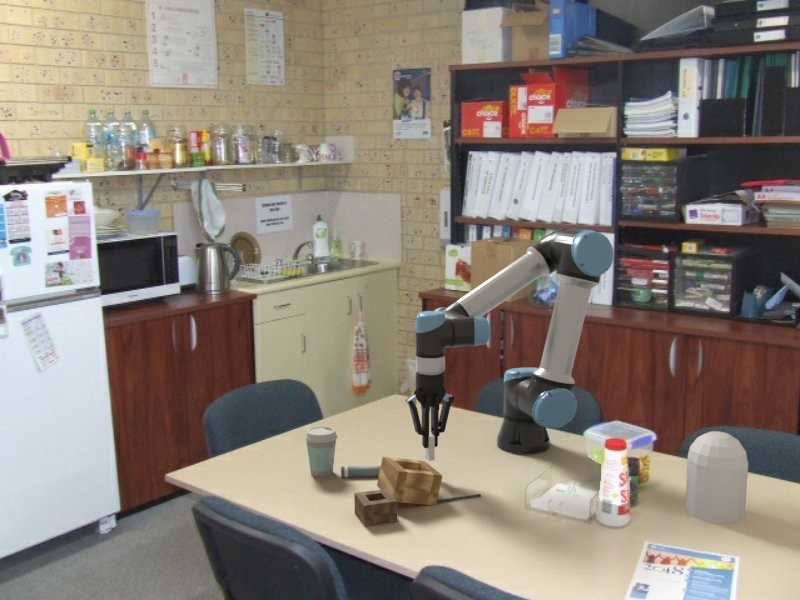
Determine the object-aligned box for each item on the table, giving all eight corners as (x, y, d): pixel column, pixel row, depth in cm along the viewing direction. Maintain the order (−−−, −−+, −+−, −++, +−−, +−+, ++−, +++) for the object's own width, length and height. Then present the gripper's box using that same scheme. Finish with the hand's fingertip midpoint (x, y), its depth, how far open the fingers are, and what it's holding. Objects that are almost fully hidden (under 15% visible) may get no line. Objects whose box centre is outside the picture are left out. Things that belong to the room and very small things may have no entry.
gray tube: (409, 474, 230) (341, 475, 230) (409, 464, 230) (341, 464, 230) (409, 478, 227) (341, 479, 227) (409, 467, 227) (340, 468, 227)
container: (716, 530, 195) (720, 445, 192) (672, 509, 207) (676, 428, 204) (757, 518, 201) (763, 436, 198) (712, 498, 213) (717, 420, 210)
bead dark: (386, 508, 208) (386, 488, 207) (397, 521, 200) (397, 501, 200) (354, 513, 205) (354, 493, 204) (364, 526, 198) (364, 505, 197)
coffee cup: (332, 480, 226) (332, 436, 224) (301, 478, 228) (300, 434, 226) (341, 469, 234) (340, 426, 232) (311, 467, 236) (310, 425, 234)
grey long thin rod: (480, 496, 215) (480, 493, 215) (481, 497, 214) (481, 494, 214) (417, 505, 210) (417, 502, 210) (418, 506, 209) (418, 503, 209)
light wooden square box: (418, 489, 221) (424, 461, 220) (436, 505, 210) (442, 475, 210) (376, 485, 217) (382, 456, 216) (392, 501, 206) (398, 471, 205)
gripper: (448, 366, 228) (447, 451, 232) (401, 370, 224) (401, 457, 228) (459, 372, 221) (458, 460, 225) (411, 376, 217) (411, 466, 221)
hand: (430, 458), depth 226 cm, fingers closed
